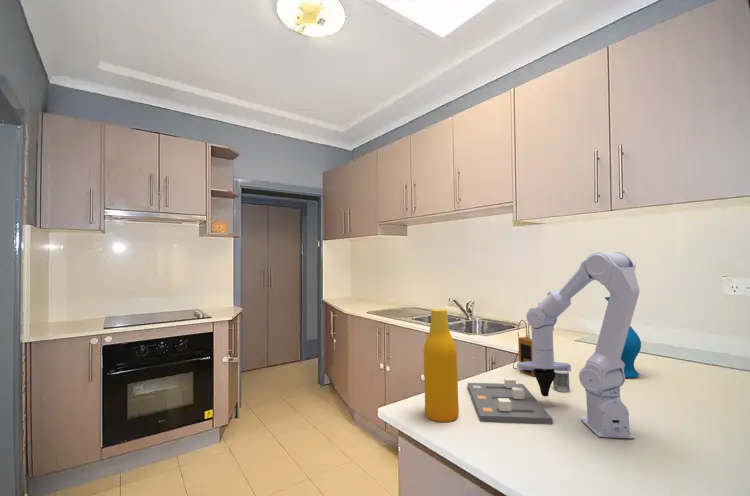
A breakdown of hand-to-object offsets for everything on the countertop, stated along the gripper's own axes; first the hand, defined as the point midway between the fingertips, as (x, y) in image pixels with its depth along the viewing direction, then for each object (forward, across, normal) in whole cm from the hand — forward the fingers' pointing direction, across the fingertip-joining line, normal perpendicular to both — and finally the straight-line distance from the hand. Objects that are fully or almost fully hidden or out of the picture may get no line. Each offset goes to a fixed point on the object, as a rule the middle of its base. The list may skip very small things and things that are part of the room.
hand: (544, 395), depth 103 cm
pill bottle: (+3, -10, -13) cm, 16 cm away
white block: (+1, +14, +9) cm, 16 cm away
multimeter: (+3, -7, -31) cm, 32 cm away
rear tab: (+1, +8, -9) cm, 12 cm away
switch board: (+3, +12, 0) cm, 12 cm away
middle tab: (+1, +8, 0) cm, 8 cm away
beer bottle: (+3, +30, +10) cm, 32 cm away
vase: (+3, -37, -31) cm, 49 cm away
